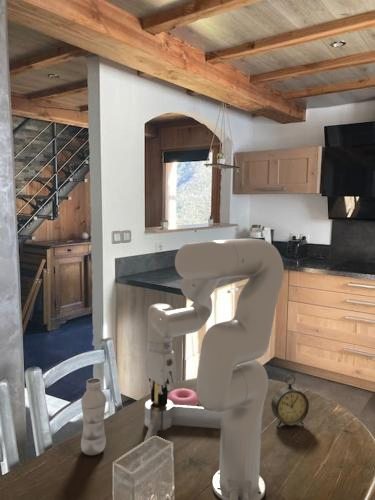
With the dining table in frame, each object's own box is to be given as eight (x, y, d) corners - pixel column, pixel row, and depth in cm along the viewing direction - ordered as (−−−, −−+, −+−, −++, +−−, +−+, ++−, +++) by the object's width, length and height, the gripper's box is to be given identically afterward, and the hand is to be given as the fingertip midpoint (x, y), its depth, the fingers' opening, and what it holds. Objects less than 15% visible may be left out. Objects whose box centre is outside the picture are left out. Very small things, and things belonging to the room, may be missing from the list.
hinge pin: (163, 418, 125) (163, 383, 124) (153, 417, 125) (153, 382, 124) (164, 413, 128) (165, 379, 127) (155, 412, 128) (155, 378, 127)
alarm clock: (275, 431, 124) (278, 379, 122) (268, 421, 129) (270, 372, 128) (308, 427, 127) (311, 376, 125) (299, 418, 132) (302, 369, 130)
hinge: (221, 469, 106) (222, 447, 105) (129, 461, 108) (130, 439, 107) (223, 420, 129) (223, 402, 129) (148, 414, 132) (148, 397, 131)
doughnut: (173, 394, 146) (173, 383, 146) (203, 400, 143) (203, 389, 142) (161, 409, 136) (161, 396, 136) (192, 415, 132) (193, 403, 132)
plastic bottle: (76, 450, 112) (76, 380, 110) (99, 441, 116) (99, 373, 114) (87, 462, 107) (87, 388, 105) (110, 452, 111) (110, 382, 109)
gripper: (186, 350, 120) (185, 409, 122) (155, 335, 133) (154, 390, 135) (166, 355, 116) (164, 417, 118) (135, 340, 128) (134, 396, 130)
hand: (159, 402), depth 126 cm, fingers closed on hinge pin, 2 cm apart
